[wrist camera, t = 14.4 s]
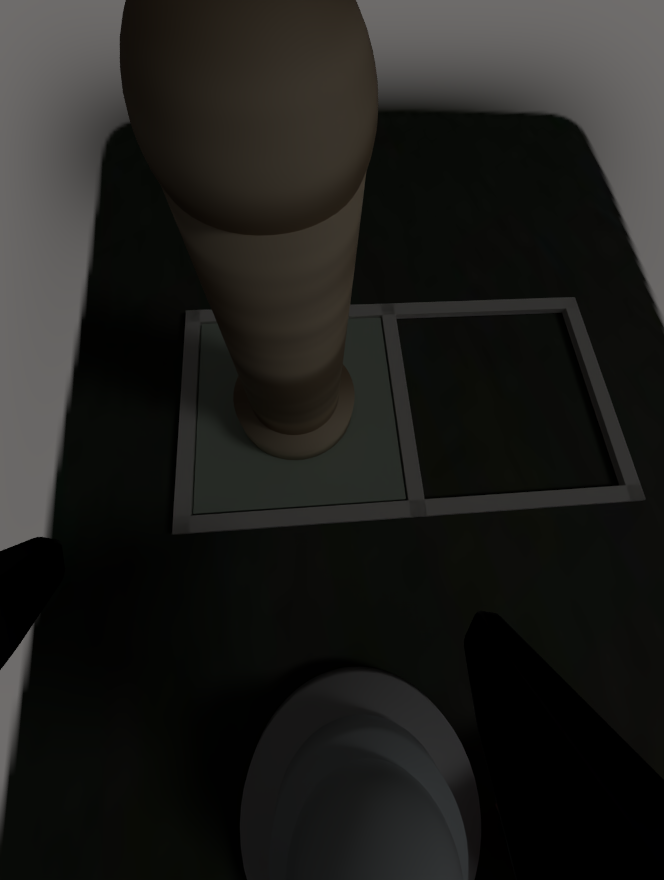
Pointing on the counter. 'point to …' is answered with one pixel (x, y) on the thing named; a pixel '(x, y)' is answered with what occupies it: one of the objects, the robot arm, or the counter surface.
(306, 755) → the dome
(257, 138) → the pawn
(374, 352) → the game board
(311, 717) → the base
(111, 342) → the counter surface
